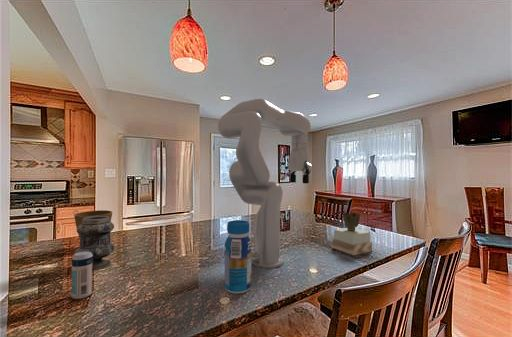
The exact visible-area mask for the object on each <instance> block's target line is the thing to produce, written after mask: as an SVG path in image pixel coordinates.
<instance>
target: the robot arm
mask: <svg viewBox="0 0 512 337" xmlns="http://www.w3.org/2000/svg"><path fill="white" fill-rule="evenodd" d="M263 125H264V126H267V127H269V128H270V129H274V130H279V132H280V134H281V135H282V136H285V137H291V139H290V140H291V141H290V142H291V150H290V153H289V159H288V160H289V161H288V162H289V163H288V165H287V168H288V173H289V182H290V184H291V183H294V184H295V183H297V174H296V173H297V172H302V184H309V182H310V180H309V179H310V176H309V175H310V173H311V172H312V168H313V165H312V164H311V163H309V162H310V160H309V152H308V133H309V132H310V131H311V127H312V126H311V122H310V120H309V119H308V117H307V116H306V115H305V114H303V113H300V112H297V111H293V110H292V111H291V110H286V109H282V108H279V107H278V106H276V105H274V104H273V103H271V102H269V101H268V100H266V99H265V98H256V99H251V100H246V101H242V102H239V103H238V104H236V105H235V106H233V107H232V108H231V109H229V110H228V111H227V112H225V113H224V114H223V115H222V116H220V118H219V120H218V122H217V130H218V133H219V134H220V135H221V137H223V138H226V139H236V138H237V139H238V138H239V139H238V142H237V144H236V145H237V146H236V148H235V156H236V159H237V161H235V162H232V164H230V167H229V172H228V173H229V174H228V176H229V179H230V183H231V184H232V186H233V188H234V189H235V191H236V193H237V195H238V196H239V197H240V199H241V201H242V202H244V203H246V204H249V205H256V206H260V207H259V209H258V211H257V212H256V215H255V248H254V249H253V250H252V256H251V265H253V266H255V267H257V268H258V267H259V268H263V269H264V268H265V269H275V268H279V267H281V266H283V264H284V263H285V262H284V258H283V257H282V256H280V255H281V253H280V252H281V250H280V246H281V243H280V242H281V241H280V240H281V230H280V229H281V223H280V222H281V221H280V220H281V218H280V217H281V206H282V205H281V204H282V200H283V193H284V192H283V191H284V190H283V189H282V186H281V184H279V183H277V182H276V181H275V182H274V181H270V178H271V177H270V176H271V174H270V170H269V167H268V165H267V163H266V161H265V159H264V157H263V155H262V153H261V151H260V147H259V143H260V137H261V132H262V128H263Z"/></svg>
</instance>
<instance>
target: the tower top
mask: <svg viewBox="0 0 512 337" xmlns="http://www.w3.org/2000/svg"><path fill="white" fill-rule="evenodd" d="M355 229H356V230H355V231H348V230H347V227H344V228H343V227H342V228H336V229H333V239H336V240H339V241H342V242H345V243H348V244H351V245H357V244H363V243H368V242H371V231H367V230H362V229H360V228H359V229H358V228H355Z"/></svg>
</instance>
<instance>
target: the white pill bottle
mask: <svg viewBox="0 0 512 337" xmlns="http://www.w3.org/2000/svg"><path fill="white" fill-rule="evenodd" d="M92 268H93V255H92V253H91V252H90V251H83V252H78V253H74V254H73V256H72V258H71V291H70V292H71V293H70V298H72V299H74V300H82V299H85V298H87V297H89V296H91V294H92V293H93V270H92Z"/></svg>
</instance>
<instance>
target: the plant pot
mask: <svg viewBox="0 0 512 337" xmlns="http://www.w3.org/2000/svg"><path fill="white" fill-rule="evenodd" d="M73 215H74V216H73V217H74V223H75V226H76V229H77V227H78V226H79V225H80V224H82V220H83V218H86V217H93V216H108V217H109V219H110V222H112V217H113V211H112V210H104V209H103V210H102V209H101V210H100V209H99V210H88V211H81V212H77V213H75V214H73ZM77 234H78V233H77ZM78 237H79V239H80V234H78Z"/></svg>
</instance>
